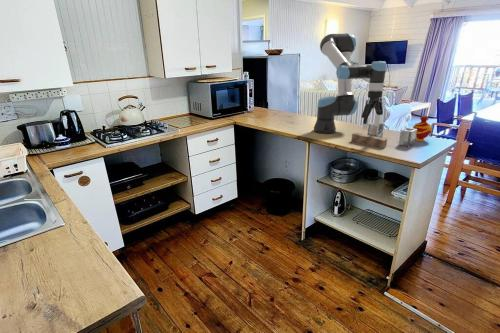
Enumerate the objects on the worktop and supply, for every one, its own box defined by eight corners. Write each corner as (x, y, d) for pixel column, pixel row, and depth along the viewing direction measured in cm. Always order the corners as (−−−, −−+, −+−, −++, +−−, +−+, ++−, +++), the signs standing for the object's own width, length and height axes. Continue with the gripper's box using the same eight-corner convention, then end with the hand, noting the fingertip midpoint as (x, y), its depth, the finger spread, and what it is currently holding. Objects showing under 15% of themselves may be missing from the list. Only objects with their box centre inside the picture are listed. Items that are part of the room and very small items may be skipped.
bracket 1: (382, 137, 190) (384, 123, 186) (375, 139, 184) (377, 125, 181) (373, 135, 194) (375, 122, 190) (366, 137, 189) (368, 124, 185)
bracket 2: (398, 144, 175) (400, 129, 171) (404, 141, 180) (407, 127, 176) (408, 146, 170) (411, 131, 167) (414, 143, 175) (417, 129, 172)
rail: (351, 141, 183) (352, 133, 181) (354, 140, 185) (355, 132, 183) (382, 148, 169) (384, 140, 167) (385, 147, 171) (387, 139, 169)
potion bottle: (419, 143, 176) (424, 118, 171) (406, 138, 186) (411, 115, 180) (433, 141, 179) (439, 117, 173) (420, 137, 188) (425, 114, 183)
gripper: (370, 92, 155) (365, 132, 163) (392, 89, 170) (387, 124, 178) (357, 91, 160) (353, 129, 168) (379, 88, 176) (375, 123, 183)
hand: (370, 127), depth 173 cm, fingers open, 13 cm apart
